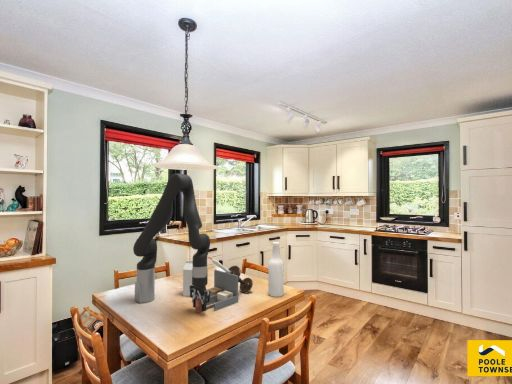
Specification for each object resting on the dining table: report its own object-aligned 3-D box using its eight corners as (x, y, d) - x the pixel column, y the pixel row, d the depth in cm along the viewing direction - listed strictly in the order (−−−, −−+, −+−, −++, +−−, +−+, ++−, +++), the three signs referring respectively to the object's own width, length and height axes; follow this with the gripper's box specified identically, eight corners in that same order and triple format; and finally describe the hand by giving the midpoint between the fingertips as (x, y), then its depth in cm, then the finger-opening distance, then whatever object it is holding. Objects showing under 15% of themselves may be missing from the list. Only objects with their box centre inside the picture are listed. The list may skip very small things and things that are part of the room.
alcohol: (275, 298, 155) (275, 244, 155) (265, 293, 162) (265, 242, 162) (286, 295, 160) (286, 242, 160) (276, 290, 167) (276, 240, 168)
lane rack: (214, 311, 137) (215, 282, 137) (192, 301, 150) (192, 275, 150) (238, 302, 149) (238, 275, 149) (215, 293, 162) (215, 269, 162)
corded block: (200, 314, 133) (200, 301, 133) (193, 310, 137) (193, 298, 137) (232, 302, 149) (233, 291, 149) (225, 299, 153) (225, 288, 153)
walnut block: (213, 301, 150) (213, 292, 150) (206, 298, 154) (206, 289, 154) (221, 298, 155) (221, 289, 155) (214, 295, 159) (214, 286, 159)
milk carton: (194, 296, 156) (194, 262, 157) (182, 296, 158) (183, 262, 158) (199, 292, 163) (199, 260, 164) (188, 291, 165) (188, 259, 165)
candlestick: (238, 296, 164) (198, 268, 144) (239, 279, 172) (202, 251, 153) (253, 291, 160) (215, 262, 140) (254, 274, 168) (217, 244, 148)
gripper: (184, 273, 139) (184, 307, 138) (202, 279, 129) (202, 315, 129) (197, 270, 144) (197, 303, 144) (215, 276, 135) (214, 311, 134)
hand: (199, 309), depth 136 cm, fingers open, 6 cm apart
